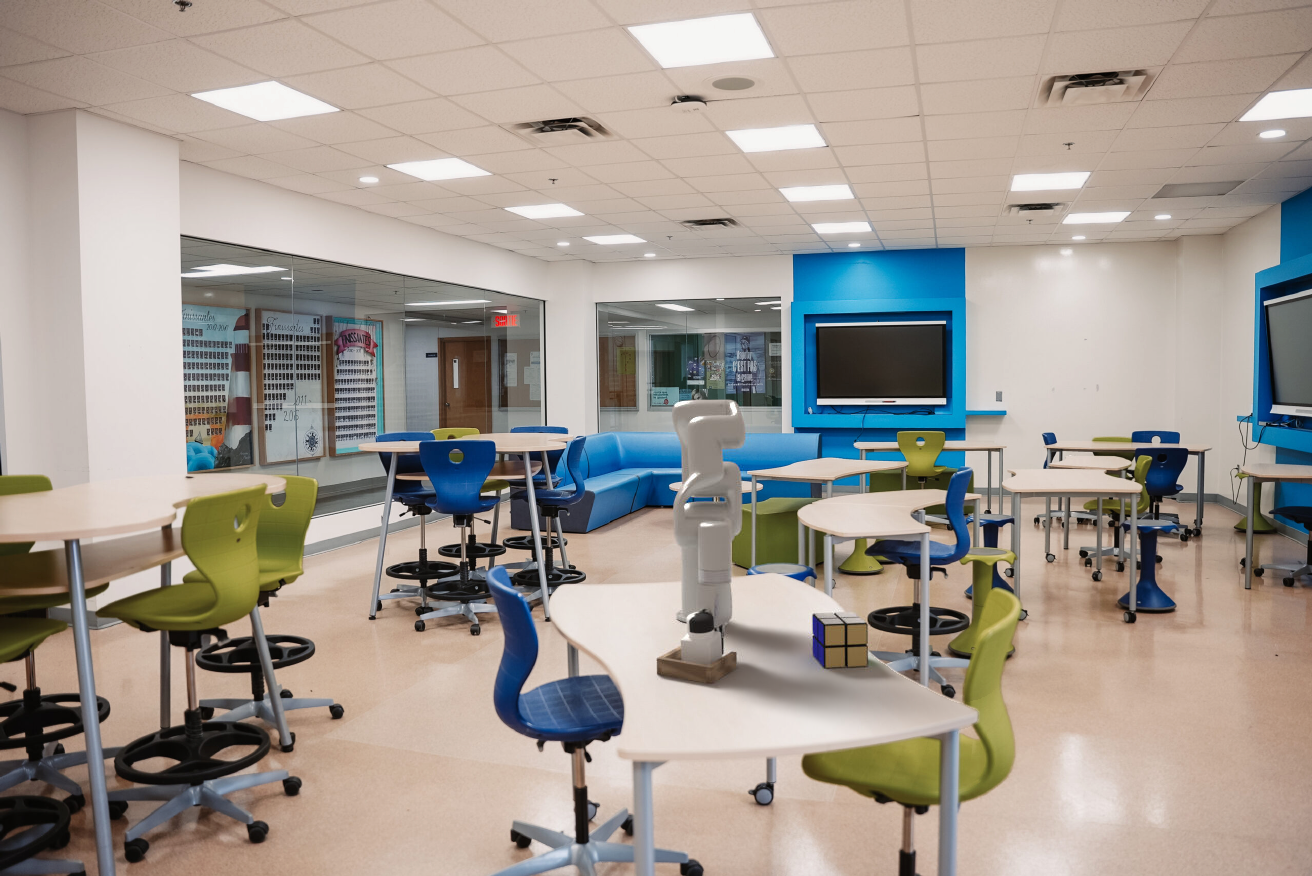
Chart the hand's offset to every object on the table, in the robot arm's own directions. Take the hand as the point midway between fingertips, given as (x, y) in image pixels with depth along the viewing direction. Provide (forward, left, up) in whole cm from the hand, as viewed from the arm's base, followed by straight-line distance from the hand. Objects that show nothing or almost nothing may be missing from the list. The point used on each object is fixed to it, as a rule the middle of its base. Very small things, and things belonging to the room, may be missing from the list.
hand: (715, 654), depth 200 cm
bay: (+8, 0, -1) cm, 8 cm away
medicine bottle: (+6, 0, -1) cm, 6 cm away
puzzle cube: (-13, +25, -2) cm, 28 cm away
